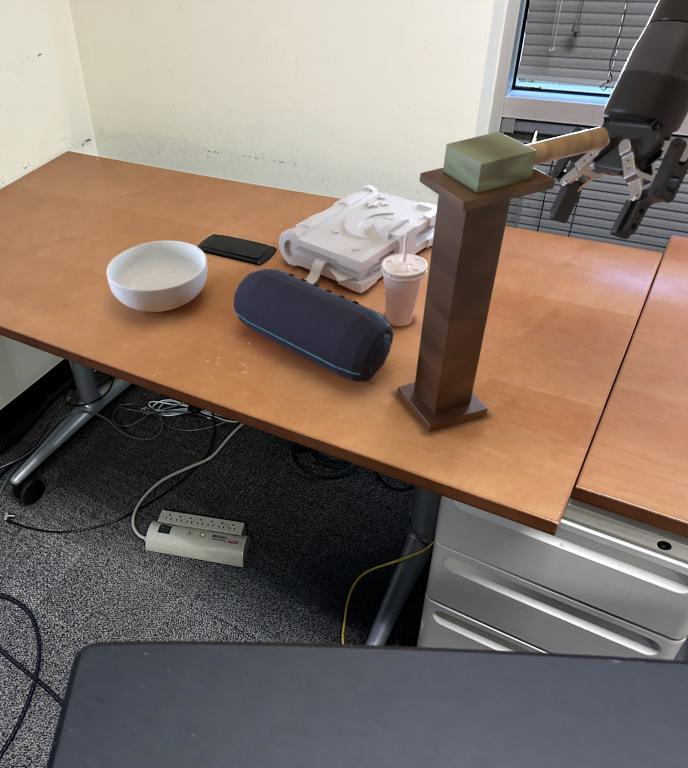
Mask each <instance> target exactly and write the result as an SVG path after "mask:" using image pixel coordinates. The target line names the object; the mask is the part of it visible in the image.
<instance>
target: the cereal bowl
mask: <svg viewBox="0 0 688 768" xmlns="http://www.w3.org/2000/svg"><path fill="white" fill-rule="evenodd" d="M207 258H208V257H207V256H206V253H205V252H204V251H203V250H202V249H201V248H200V247H199V246H197V245H194V244H192V243H190V242H189V243H188V242H186V241H181V240H180V241H179V240H166V239H165V240H155V241H148V242H145V243H144V242H143V243H140V244H137V245H134V246H132V247H129V248H127V249H125V250H123V251H121V252H120V253H119V254H117V255H116V256H114V257H113V258H112V259H111V260H110V262H109V263H108V265H107V267H106V278H107V283H108V286H109V288H110V290H111V293H112V294H113V296H114V297H115V298H116V299H117V300H118V301H119V302H120V303H121V304H123V305H124V306H126V307H128V308H130V309H133V310H135V311H136V310H137V311H141V312H150V313H151V312H152V313H162V312H167V311H170V310H173V309H177V308H179V307H182V306H184V305H186V304H188V303H190V302H191V301H193V300H194V299H195V298H196V297H197V296H198V295H199V294H200V293H201V292H202V290H203V288H204V287H205V284H206V282H207V277H208V259H207Z"/></svg>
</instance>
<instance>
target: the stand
mask: <svg viewBox="0 0 688 768" xmlns="http://www.w3.org/2000/svg"><path fill="white" fill-rule="evenodd" d="M443 168H444V166H443V167H440V168H436V169H435V168H434V169H431V170H427V171H424V172H420V174H419V183H421V184H422V185H423V186H425V187H426V188H428V189H429V190H431V191H433V192H434V193H435V194H437V195H438V197H437V204H436V205H437V212H436V220H435V228H434V236H433V244H432V245H431V251H430V252H431V253H430V260H429V269H428V276H427V283H426V284H427V285H426V292H425V301H424V308H423V317H422V323H421V331H420V340H419V348H418V357H417V362H416V363H417V364H416V371H415V380H414V382H412V383H408V384H404V385H401V386H398V387H397V390H396V391H397V392H396V395H397V396H398V397H399V398H400V400H402V402H404V404H405V405H406V407H408V409H409V410H410V411H411V412H412V414H413V415H414V416H415V417H416V418H417V419H418V420H419V422H420V423H421V424H422V426H424V428H425V429H426V430H427V431H428V432H429V433H431V432H434V431H438V430H441V429H444V428H447V427H451V426H454V425H458V424H461V423H464V422H467V421H472V420H475V419H478V418H482V417H484V416H487V413H488V410H489V408H488V407H487V406H486V405H485V404H484V402H482V401H481V399H479V397H477V396H476V395H475V394H474V393H473V392H474V387H475V382H476V377H477V371H478V366H479V361H480V357H481V351H482V346H483V342H484V336H485V331H486V326H487V321H488V316H489V311H490V306H491V301H492V295H493V290H494V285H495V280H496V275H497V271H498V265H499V261H500V255H501V251H502V245H503V240H504V237H505V236H504V235H505V230H506V224H507V219H508V214H509V210H510V205H511V201H512V200H513V199H516V198H522V197H526V196H529V195H533V194H537V193H540V192H541V193H542V192H545V191H548V190H553V189H554V187H555V183H556V179H554V178H552V177H551V175H548V174H546V173H544V172H542V171H541V170H539V169H537V168H535V167H533V172H532V177H531V180H528V181H524V182H520V183H516V184H512V185H508V186H504V187H500V188H496V189H492V190H488V191H484V192H480V193H476V192H474V191H473V190H471V189H469V188H468V187H466V186H465V185H463V184H461V183H460V182H458V181H457V180H455V179H454V178H452V177H450V176H449V175H447V174H446V173H444V172H443Z"/></svg>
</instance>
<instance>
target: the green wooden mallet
mask: <svg viewBox="0 0 688 768" xmlns="http://www.w3.org/2000/svg"><path fill="white" fill-rule="evenodd" d="M608 140H609V135H608V132H607V130H606V129H605V128H604V127H601V126H597V127H593V128H590V129H587V130H585V131H580V132H576V133H572V132H571V133H568V134H565V135H560V136H556V137H552V138H548V139H543V140H540V141H535V142H532V143H527V144H524V143H522V142H521V141H519V140H517V139H515V138H513V137H510V136H509V135H506V134H505V133H503V132H501V131H495V132H491V133H488V134H483V135H478V136H474V137H470V138H466V139H462V140H458V141H454V142H449V143H446V147H445V153H444V161H443V167H444V168H443V167H442V168H443V172H444V173H446V174H447V175H449V176H450V177H452V178H454V179H455V180H457V181H458V182H460V183H461V184H463V185H465V186H466V187H468V188H469V189H471V190H473V191H474V192H476V193H480V192H484V191H488V190H492V189H496V188H500V187H504V186H508V185H512V184H516V183H520V182H524V181H528V180H531V177H532V172H533V168H535V166H538V165H541V164H545V163H549V162H553V161H558V159H562V158H566V157H570V156H574V155H578V154H582V153H586V152H590V151H594V150H598V149H602V148H604V147H605V146H606V145H607V143H608Z"/></svg>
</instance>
